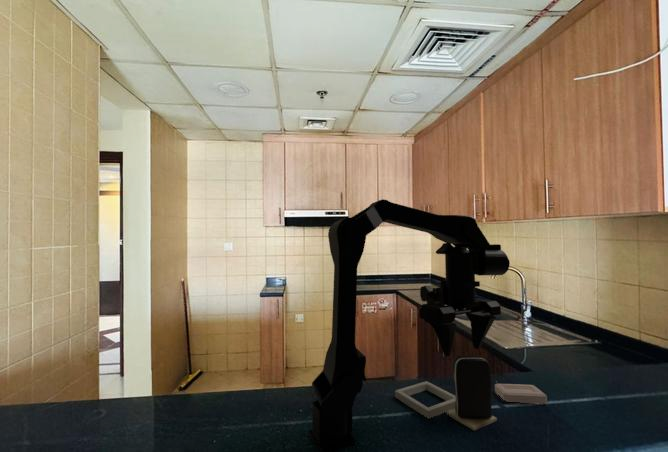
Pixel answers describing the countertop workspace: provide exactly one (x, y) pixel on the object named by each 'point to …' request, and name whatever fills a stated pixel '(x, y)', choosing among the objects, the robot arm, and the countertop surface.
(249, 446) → the countertop surface
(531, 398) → the soap bar
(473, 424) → the pad
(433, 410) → the frame
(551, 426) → the countertop surface
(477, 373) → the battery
